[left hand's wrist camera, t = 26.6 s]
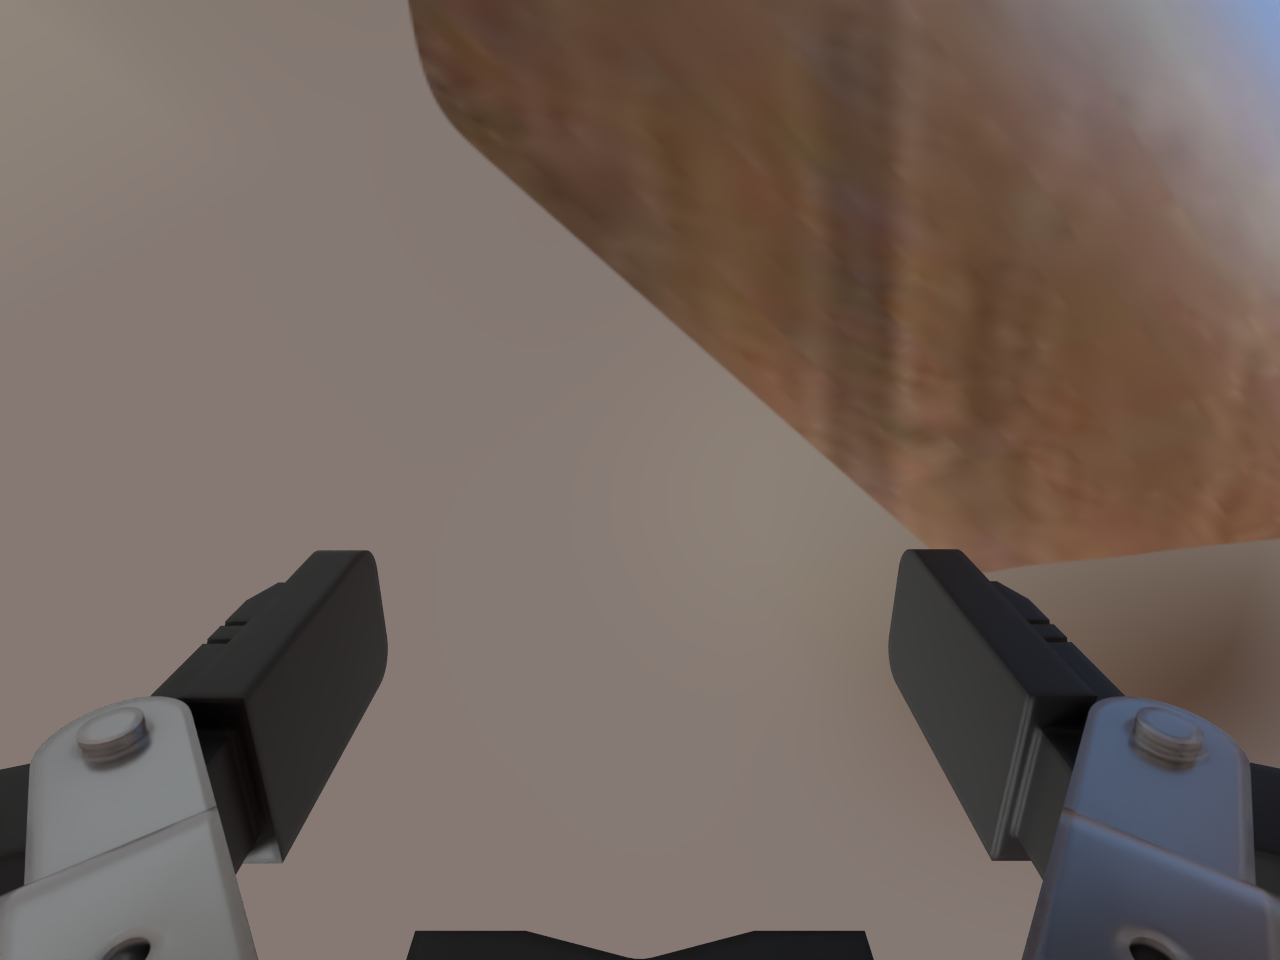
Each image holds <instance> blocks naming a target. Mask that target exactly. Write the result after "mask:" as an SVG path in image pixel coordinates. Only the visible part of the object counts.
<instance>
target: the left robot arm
mask: <svg viewBox="0 0 1280 960" xmlns="http://www.w3.org/2000/svg"><path fill="white" fill-rule="evenodd" d="M888 648H889V661H890V667H891V671H892V675H893V678H894V680H895V682H896V684H897V686H898V688H899V690H900V692H901V693H902V695H903V697H904V699H905V701H906V703H907V704H908V706H909V708H910V710H911V712H912V714H913V716H914V717H915V719H916V721H917V723H918V725H919V727H920V729H921V730H922V732H923V734H924V736H925V738H926V740H927V741H928V743H929V745H930V747H931V749H932V751H933V753H934V754H935V756H936V758H937V760H938V762H939V764H940V766H941V767H942V769H943V771H944V773H945V775H946V777H947V779H948V780H949V782H950V784H951V786H952V788H953V790H954V791H955V793H956V795H957V797H958V799H959V801H960V803H961V804H962V806H963V808H964V810H965V812H966V814H967V816H968V817H969V819H970V821H971V823H972V825H973V827H974V829H975V830H976V832H977V834H978V836H979V838H980V840H981V841H982V843H983V845H984V847H985V849H986V851H987V853H988V854H989V856H990V858H991V860H992V861H1032V863H1033V864H1034V866H1035V868H1036V869H1037V871H1038V873H1039V874H1040V876H1041V878H1042V879H1043V883H1042V887H1041V890H1040V894H1039V898H1038V901H1037V905H1036V909H1035V912H1034V916H1033V920H1032V924H1031V928H1030V931H1029V935H1028V938H1027V942H1026V946H1025V950H1024V953H1023V957H1022V960H1280V769H1279V768H1274V767H1269V766H1264V765H1259V764H1254V763H1249V760H1248V758H1247V756H1246V754H1245V753H1244V751H1243V750H1242V749H1241V748H1240V746H1239V745H1238V744H1237V743H1236V742H1235V741H1234V740H1233V739H1232V738H1231V737H1230V736H1228V735H1227V734H1226V733H1224V732H1223V731H1222V730H1220V729H1219V728H1218V727H1216V726H1214V725H1213V724H1211V723H1210V722H1208V721H1206V720H1204V719H1202V718H1200V717H1199V716H1197V715H1195V714H1192V713H1190V712H1188V711H1186V710H1183V709H1181V708H1178V707H1175V706H1172V705H1170V704H1166V703H1163V702H1159V701H1155V700H1151V699H1146V698H1139V697H1127V696H1125V695H1124V694H1123V693H1122V692H1121V691H1120V690H1119V689H1118V688H1117V687H1116V686H1115V685H1114V684H1113V683H1112V682H1111V681H1110V680H1109V679H1108V678H1107V677H1106V676H1105V675H1104V674H1103V673H1102V672H1101V671H1100V670H1099V669H1098V668H1097V667H1096V666H1095V665H1094V664H1093V663H1092V662H1091V661H1090V660H1089V659H1088V658H1087V657H1086V656H1085V655H1084V654H1083V653H1082V652H1081V651H1080V650H1079V649H1078V648H1077V647H1076V646H1075V645H1074V644H1073V643H1072V642H1067V637H1066V636H1065V635H1064V634H1063V633H1062V632H1061V631H1060V630H1059V629H1058V628H1057V627H1056V626H1055V625H1054V624H1050V623H1049V619H1048V618H1047V617H1046V616H1045V615H1044V614H1043V613H1042V612H1041V611H1040V610H1039V609H1038V608H1037V607H1036V606H1035V605H1034V604H1033V603H1032V602H1031V601H1030V600H1029V599H1027V598H1026V597H1024V596H1022V595H1020V594H1019V593H1017V592H1015V591H1013V590H1011V589H1010V588H1008V587H1006V586H1004V585H1002V584H1001V583H999V582H997V581H989V580H988V579H987V578H986V577H985V576H984V574H983V573H982V572H981V571H980V570H979V569H978V568H977V567H976V566H975V565H974V564H973V563H972V562H971V561H970V560H969V559H968V557H967V556H966V555H965V554H964V553H963V552H962V551H960V550H958V549H908V550H906V551H905V552H904V554H903V555H902V558H901V561H900V565H899V571H898V578H897V585H896V592H895V599H894V606H893V613H892V620H891V627H890V634H889V646H888ZM387 655H388V642H387V634H386V628H385V620H384V614H383V606H382V600H381V593H380V586H379V579H378V572H377V566H376V562H375V559H374V556H373V555H372V553H371V552H370V551H367V550H366V551H365V550H361V551H360V550H351V551H350V550H348V551H347V550H342V551H341V550H335V551H333V550H328V551H326V550H321V551H316V552H314V553H313V554H312V555H311V556H310V557H309V558H308V559H307V560H306V561H305V562H304V563H303V564H302V565H301V566H300V568H299V569H298V570H297V571H296V572H295V573H294V574H293V575H292V576H291V577H290V578H289V579H288V580H287V581H286V582H285V583H277V584H275V585H273V586H272V587H270V588H268V589H266V590H264V591H263V592H261V593H259V594H257V595H255V596H254V597H252V598H250V599H248V600H247V601H245V602H244V604H242V605H241V606H240V607H239V608H238V610H236V611H235V612H234V613H233V614H232V615H231V616H230V617H229V618H228V619H227V620H226V622H225V626H220V627H219V628H218V629H217V630H216V631H215V632H214V633H213V634H212V635H211V636H210V637H209V638H208V642H207V644H202V645H201V646H200V647H199V648H198V649H197V650H196V651H195V652H194V653H193V654H192V655H191V656H190V657H189V658H188V659H187V660H186V661H185V662H184V663H183V664H182V665H181V666H180V667H179V668H178V669H177V670H176V671H175V672H174V673H173V674H172V675H171V676H170V677H169V678H168V679H167V680H166V681H165V682H164V683H163V684H162V685H161V686H160V687H159V688H158V689H157V690H156V691H155V692H154V693H153V694H152V695H151V696H150V697H141V698H134V699H129V700H125V701H121V702H117V703H114V704H110V705H108V706H105V707H102V708H99V709H97V710H94V711H92V712H90V713H88V714H85V715H83V716H82V717H80V718H78V719H76V720H74V721H72V722H70V723H69V724H67V725H66V726H64V727H62V728H61V729H60V730H58V731H57V732H56V733H54V734H53V735H52V736H50V737H49V738H48V739H47V740H46V741H45V742H44V743H43V744H42V745H41V746H40V748H39V749H38V750H37V751H36V753H35V754H34V756H33V758H32V760H31V763H30V764H26V765H21V766H16V767H11V768H7V769H2V770H0V960H258V957H257V953H256V950H255V946H254V942H253V938H252V935H251V931H250V927H249V924H248V920H247V916H246V912H245V909H244V905H243V901H242V898H241V894H240V890H239V887H238V883H237V879H236V873H237V872H238V870H239V868H240V867H241V865H242V863H283V861H284V859H285V858H286V856H287V854H288V852H289V850H290V848H291V847H292V845H293V843H294V841H295V839H296V837H297V836H298V834H299V832H300V830H301V828H302V826H303V825H304V823H305V821H306V819H307V817H308V815H309V814H310V812H311V810H312V808H313V806H314V804H315V803H316V801H317V799H318V797H319V795H320V794H321V792H322V790H323V788H324V786H325V784H326V783H327V781H328V779H329V777H330V775H331V773H332V772H333V770H334V768H335V766H336V764H337V762H338V761H339V759H340V757H341V755H342V753H343V751H344V750H345V748H346V746H347V744H348V742H349V741H350V739H351V737H352V735H353V733H354V731H355V729H356V728H357V726H358V724H359V722H360V720H361V719H362V717H363V715H364V713H365V711H366V709H367V708H368V706H369V704H370V702H371V700H372V698H373V697H374V695H375V693H376V691H377V689H378V687H379V686H380V684H381V681H382V679H383V676H384V673H385V669H386V664H387ZM406 960H874V959H873V956H872V953H871V950H870V946H869V943H868V940H867V937H866V934H865V931H752V932H748V933H744V934H740V935H737V936H733V937H729V938H725V939H721V940H718V941H714V942H710V943H706V944H702V945H698V946H695V947H691V948H687V949H683V950H679V951H676V952H672V953H668V954H664V955H660V956H656V957H653V958H647V959H633V958H627V957H624V956H620V955H616V954H612V953H608V952H604V951H601V950H597V949H593V948H589V947H585V946H582V945H578V944H574V943H570V942H566V941H562V940H558V939H555V938H551V937H547V936H543V935H540V934H536V933H532V932H528V931H415V934H414V937H413V940H412V943H411V946H410V950H409V953H408V956H407V959H406Z"/></svg>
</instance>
